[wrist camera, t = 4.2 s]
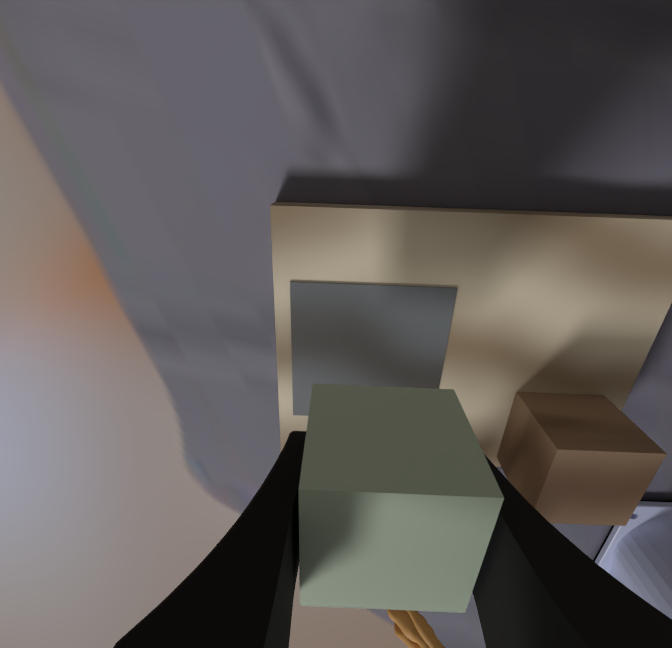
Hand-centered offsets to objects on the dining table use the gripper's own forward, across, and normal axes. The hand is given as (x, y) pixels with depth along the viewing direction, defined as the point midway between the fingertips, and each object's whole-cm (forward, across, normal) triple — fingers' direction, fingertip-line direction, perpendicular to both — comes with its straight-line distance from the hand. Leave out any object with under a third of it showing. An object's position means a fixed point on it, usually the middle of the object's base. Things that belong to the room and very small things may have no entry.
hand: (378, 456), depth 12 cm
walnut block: (+6, -10, +4) cm, 13 cm away
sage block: (+1, 0, 0) cm, 1 cm away
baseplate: (+8, -4, 0) cm, 9 cm away
